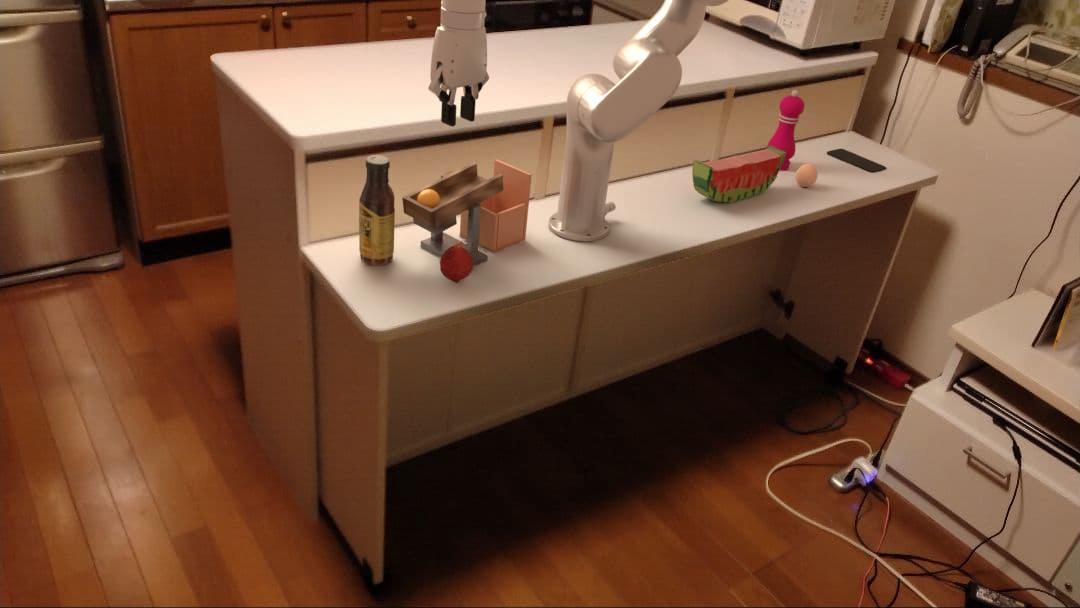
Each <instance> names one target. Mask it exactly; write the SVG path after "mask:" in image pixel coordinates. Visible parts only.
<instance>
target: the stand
mask: <svg viewBox="0 0 1080 608" xmlns="http://www.w3.org/2000/svg"><path fill="white" fill-rule="evenodd" d="M480 221H481V205H480V204H478V203H475V204H473V205H470V206H469V212H468V230H467V240H466V243H465V242H464V241H462V240H459V239H457V238H455V237H453V236H452V235H449V234H447V233H446V232H444V231H443V232H441V233H439V234H437V235H435V234H433V233H431V232H430V237H428V238H426V239H423V240H421V241H420V247H421V248H422V249H424V250H426V251H428V252H430V253H431V254H433V255H435V256H437V257H439V258H440V259H441V256H442V255H443V253H444V252H445V251H446V250H447V249H448V248H450V247H452V246H454V245H455V243H457V242H461V244H462V247H463V248H464V249H466V250H467V251H468V252H469V253H470V255H471V257H472V260H473V268H474V267H476V266H479V265H481V264H483V263H486V262H488V258H489V255H488V254H487V253H485V252H482V251H480V250H479V249H480V248H479V247H480V246H479V236H480Z"/></svg>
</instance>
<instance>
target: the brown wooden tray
mask: <svg viewBox="0 0 1080 608" xmlns="http://www.w3.org/2000/svg"><path fill="white" fill-rule="evenodd" d="M426 189H431V190H434V191H436V192H437V193H438V195H439V197H440V205H438V206H436V207H434V208H432V209H431V208H429V207H427V206H425V205H423V204H421V203H419V202H417V199H418V195H419V194H420V193H421V192H422V191H423V190H426ZM501 191H503V175H502V174H498V175H496V176H494V175H493V177H490V178H489V179H488V178H485V177H483V176H481V175H479V174H478V163H477V162H476V161H475V162H474V161H473V162H471V163H469V164H468V165H465V166H463V167H461V168H457V167H455V168H453V169H451V170H449V171H446V172H445V173H443V174H441V175H440V178H438V179H437V180H434V181H433V182H431V183H429V184H427V185H424V186H422V187H420V188H418V189H417V190H416V189H415V190H414V191H412V192H410V193H408V194H406V195H404V196H402V197H401V198H402V207H403V214H405V215H407V216H409V217H411V218H412V220H413V222H412V223H413V224H414V225H416V226H419V228H422V229H423V230H425V231H428V232H429V233H430V234H431V233H433V234H435V235H437V234H439V233H441V232H443V233H444V231H446V230H448V229H451V228H453V227H454V226H455V225H458V224H457V222H458V221H457V216H458V215H461V213H462V212H464V211H466V210H468V211H469V206H470V205H473V204H475V203H478V204H479V203H481V202H483V201H484V200H486V199H488V198H490V197H492V196H494V195H496V194H498V193H499V192H501Z"/></svg>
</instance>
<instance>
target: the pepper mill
mask: <svg viewBox="0 0 1080 608" xmlns="http://www.w3.org/2000/svg"><path fill="white" fill-rule="evenodd" d="M799 95H800V91H798V89H793V90H792V91H791V94H790V95H786V96H785V97H783V98H782V99H781V101H780V103H779V106H778V108H779V111H780V113H779V116H778V120H779V122H778V125H777V128H776V131H775V132H774V134H773V135H772V137H771V138H770V139H769V141H768V143H767V145H766V148H767V146H773V147H775V148H777V149H779V150H782V151H784V152H786V155H785V158H784V161H783V164H782V166H781V168H780V170H779V171H787V170H789V168H790V164H791V159H792V158H793V157H794V156H795V154H796V142H795V131H796V130H795V129H796V126H797V124H799V121H800V115H802V113H804V110H805V101H804V100H803V99H802V98H801V97H799ZM766 148H765V149H766Z"/></svg>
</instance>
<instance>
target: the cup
mask: <svg viewBox="0 0 1080 608" xmlns="http://www.w3.org/2000/svg"><path fill="white" fill-rule="evenodd" d="M493 163H494V164H493V177H494V176H496V175H498V174H502V175H503V191H501V192H499V193H498V194H496V195H494V196H492V197H490V198H488V199H486V200H484V201H483V202H481V203H479V204H480V205H481V221H480V236H479V247H480V248H482V249H483V250H485V251H487V252H489V253H491V254H495V253H497V252H501V251H503V250H505V249H506V248H510V247H511V246H514V245H516V244H519V243H521V242H523V241H525V240H526V235H527V226H528V216H529V206H530V195H531V185H532V184H531V183H532V175H533V174H532V173H529V172H527V171H525V170H522V169H520V168H518V167H515V166H513V165H510V164H508V163H506V162H504V161H501V160H500V159H494V162H493ZM468 212H469V211H468V210H466V211H464V212H462V213H460V225H459V226H460V227H459V237H461V238H463V239H465V240H466V241H467V230H468Z"/></svg>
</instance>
